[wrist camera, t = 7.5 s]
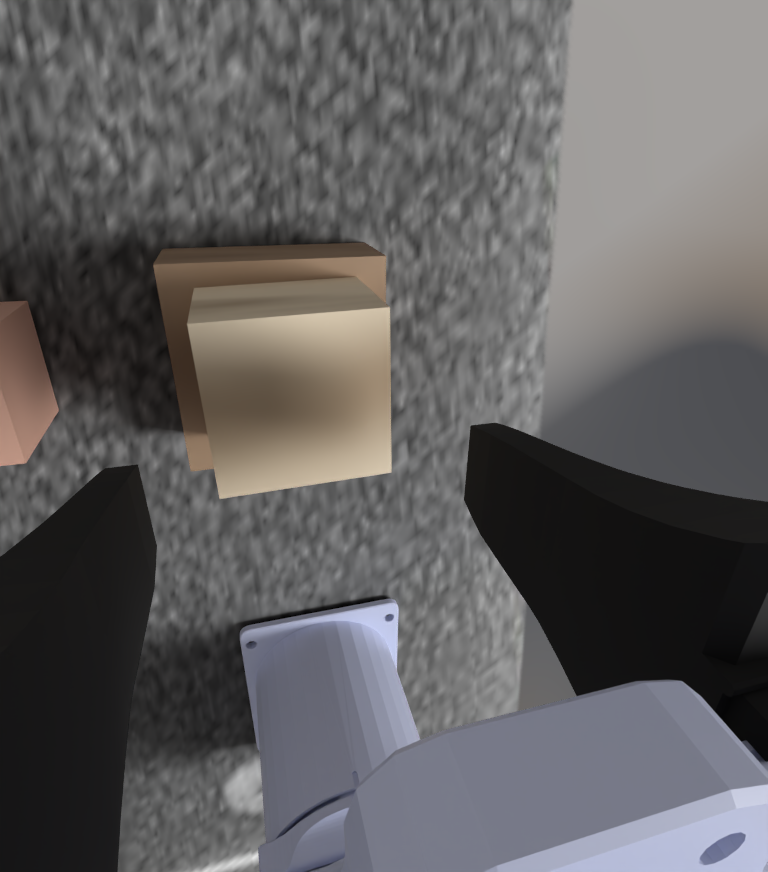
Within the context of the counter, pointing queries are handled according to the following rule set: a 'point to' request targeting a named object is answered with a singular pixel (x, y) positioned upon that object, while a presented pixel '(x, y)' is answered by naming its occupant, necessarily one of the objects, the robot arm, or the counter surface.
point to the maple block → (293, 382)
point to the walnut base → (239, 267)
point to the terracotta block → (22, 385)
